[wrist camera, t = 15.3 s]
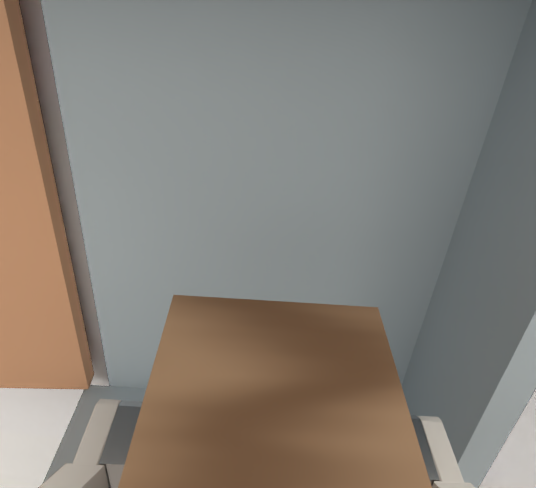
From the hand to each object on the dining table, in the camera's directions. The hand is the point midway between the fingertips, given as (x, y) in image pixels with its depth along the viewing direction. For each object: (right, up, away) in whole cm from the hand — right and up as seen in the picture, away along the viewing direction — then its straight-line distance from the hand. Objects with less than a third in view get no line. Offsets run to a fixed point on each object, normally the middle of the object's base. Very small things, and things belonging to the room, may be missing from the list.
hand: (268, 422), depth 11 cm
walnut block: (0, +1, +1) cm, 2 cm away
